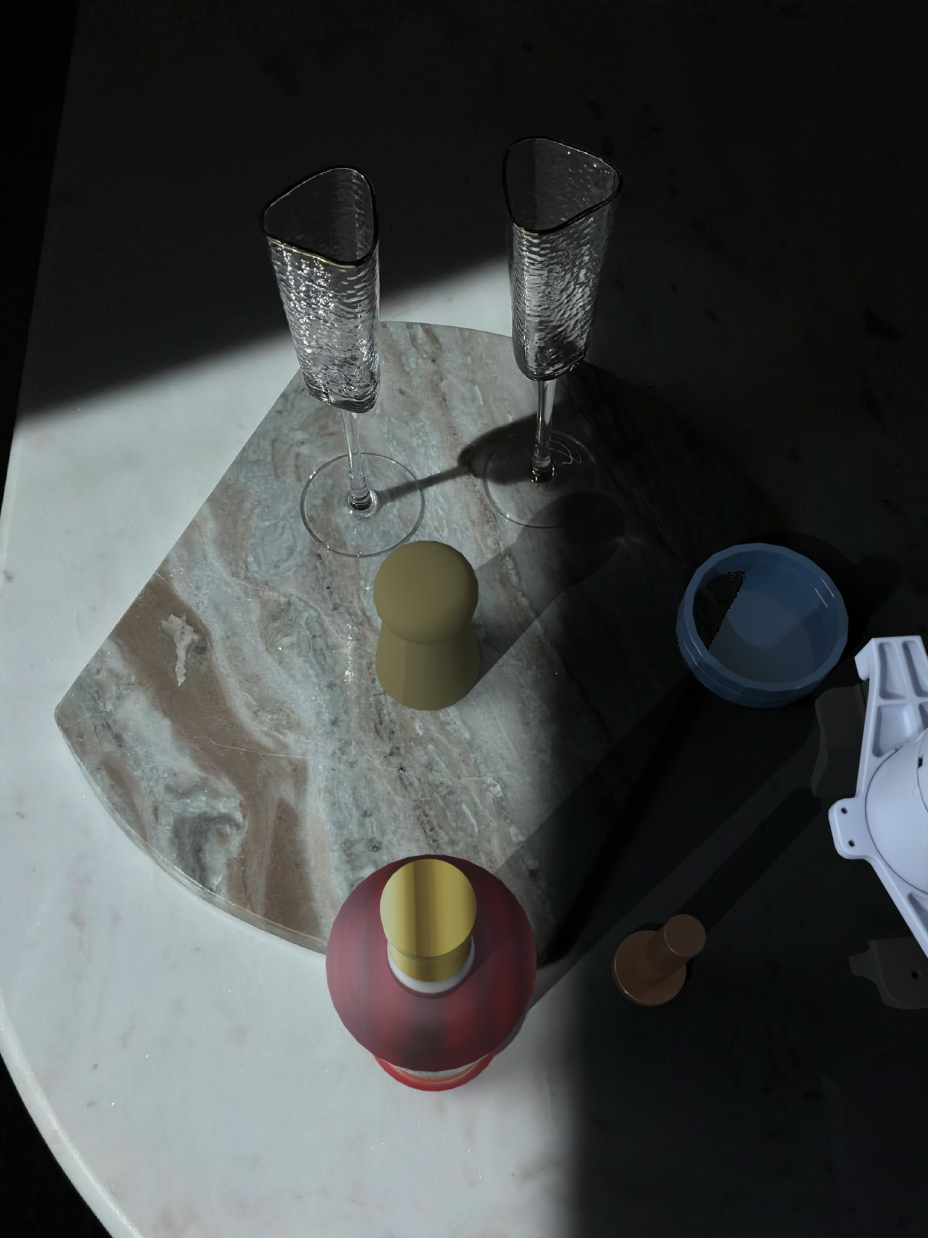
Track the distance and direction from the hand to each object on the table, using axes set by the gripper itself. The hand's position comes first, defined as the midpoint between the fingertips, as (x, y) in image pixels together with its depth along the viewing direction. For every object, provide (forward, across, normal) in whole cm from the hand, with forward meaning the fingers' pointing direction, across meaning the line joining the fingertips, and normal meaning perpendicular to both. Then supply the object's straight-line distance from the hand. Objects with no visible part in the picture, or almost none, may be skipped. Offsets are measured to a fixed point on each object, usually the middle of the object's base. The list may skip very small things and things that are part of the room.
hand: (852, 874), depth 50 cm
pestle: (+11, +2, -7) cm, 13 cm away
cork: (+11, -16, -17) cm, 26 cm away
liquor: (+11, +3, -18) cm, 22 cm away
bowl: (+11, -16, +2) cm, 19 cm away
